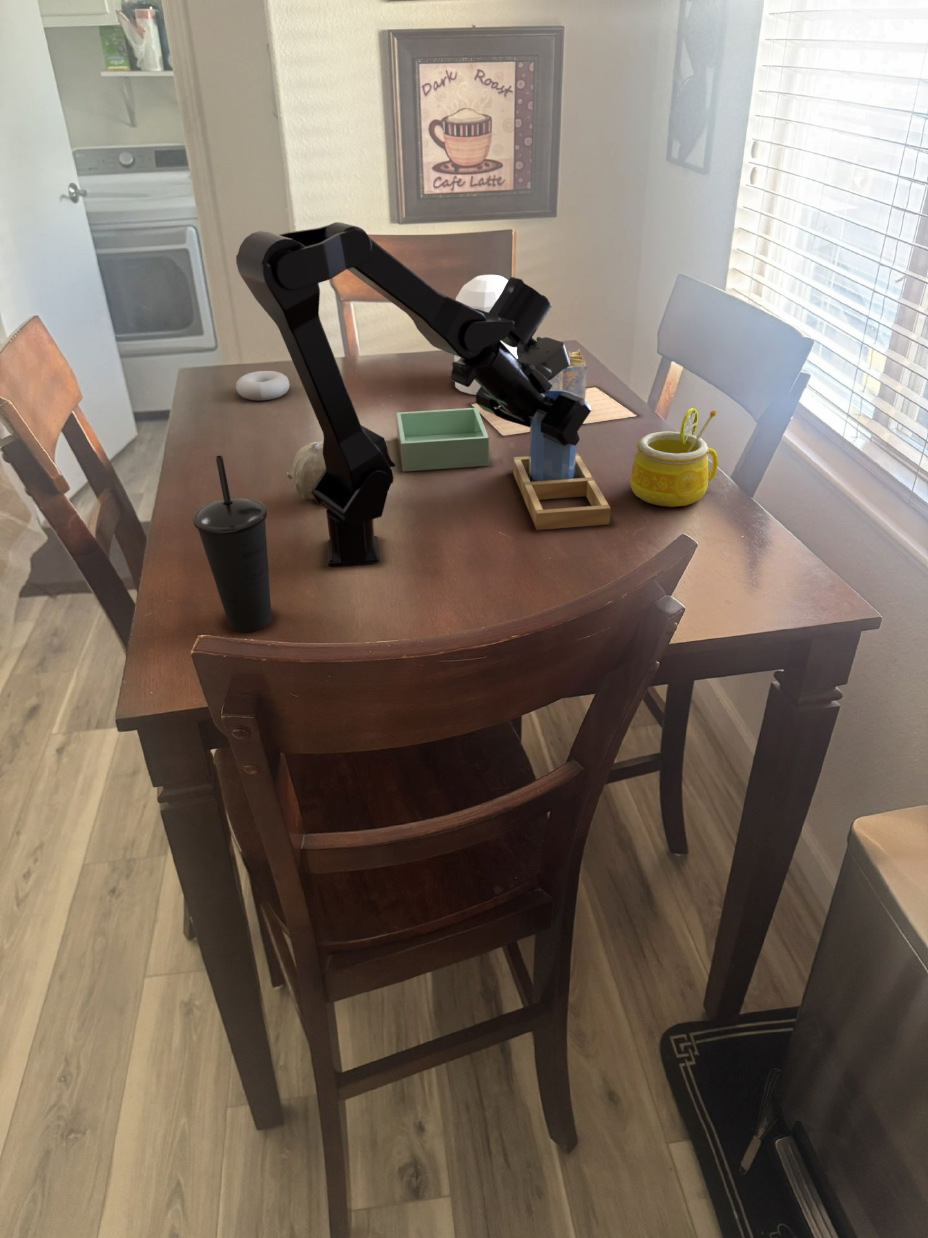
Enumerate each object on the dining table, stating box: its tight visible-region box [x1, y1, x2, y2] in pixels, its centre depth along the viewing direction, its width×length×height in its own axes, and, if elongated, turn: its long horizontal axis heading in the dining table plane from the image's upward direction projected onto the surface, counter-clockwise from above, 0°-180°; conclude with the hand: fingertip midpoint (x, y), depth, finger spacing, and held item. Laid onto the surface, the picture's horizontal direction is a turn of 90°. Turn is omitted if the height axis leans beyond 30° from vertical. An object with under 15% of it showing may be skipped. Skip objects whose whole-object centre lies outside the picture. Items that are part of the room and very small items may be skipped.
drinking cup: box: [192, 455, 272, 633], centre depth 92 cm, size 8×8×20 cm
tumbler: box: [528, 390, 578, 482], centre depth 123 cm, size 7×7×13 cm
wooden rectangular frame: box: [512, 452, 611, 531], centre depth 123 cm, size 19×10×2 cm, turn 7°
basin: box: [395, 407, 490, 472], centre depth 137 cm, size 13×13×5 cm
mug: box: [629, 407, 719, 508], centre depth 120 cm, size 13×11×12 cm
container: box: [453, 274, 518, 396], centre depth 160 cm, size 14×13×20 cm
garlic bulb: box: [286, 441, 326, 501], centre depth 122 cm, size 9×8×10 cm
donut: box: [235, 370, 291, 402], centre depth 162 cm, size 10×4×10 cm
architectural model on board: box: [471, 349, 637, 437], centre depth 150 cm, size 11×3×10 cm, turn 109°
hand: (560, 435), depth 124 cm, fingers closed on tumbler, 7 cm apart
